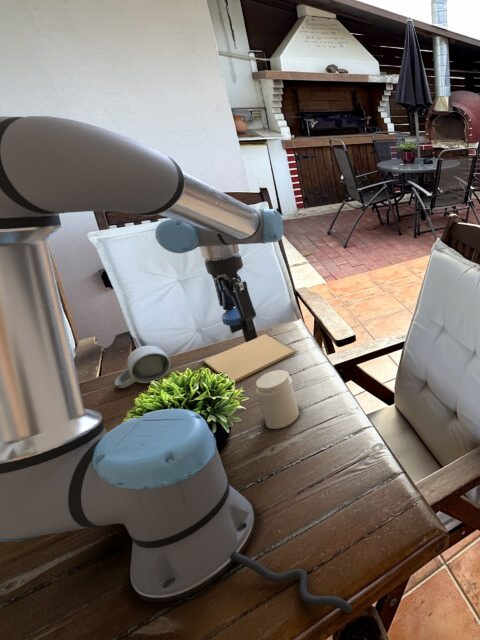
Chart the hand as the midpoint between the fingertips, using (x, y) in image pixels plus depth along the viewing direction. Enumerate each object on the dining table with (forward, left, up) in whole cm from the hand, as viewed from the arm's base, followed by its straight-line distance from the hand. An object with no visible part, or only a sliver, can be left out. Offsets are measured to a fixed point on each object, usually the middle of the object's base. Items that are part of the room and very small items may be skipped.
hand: (244, 334), depth 107 cm
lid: (0, 0, +6) cm, 6 cm away
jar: (-30, +7, -7) cm, 32 cm away
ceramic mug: (+13, +19, -7) cm, 24 cm away
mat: (0, 0, -7) cm, 7 cm away
